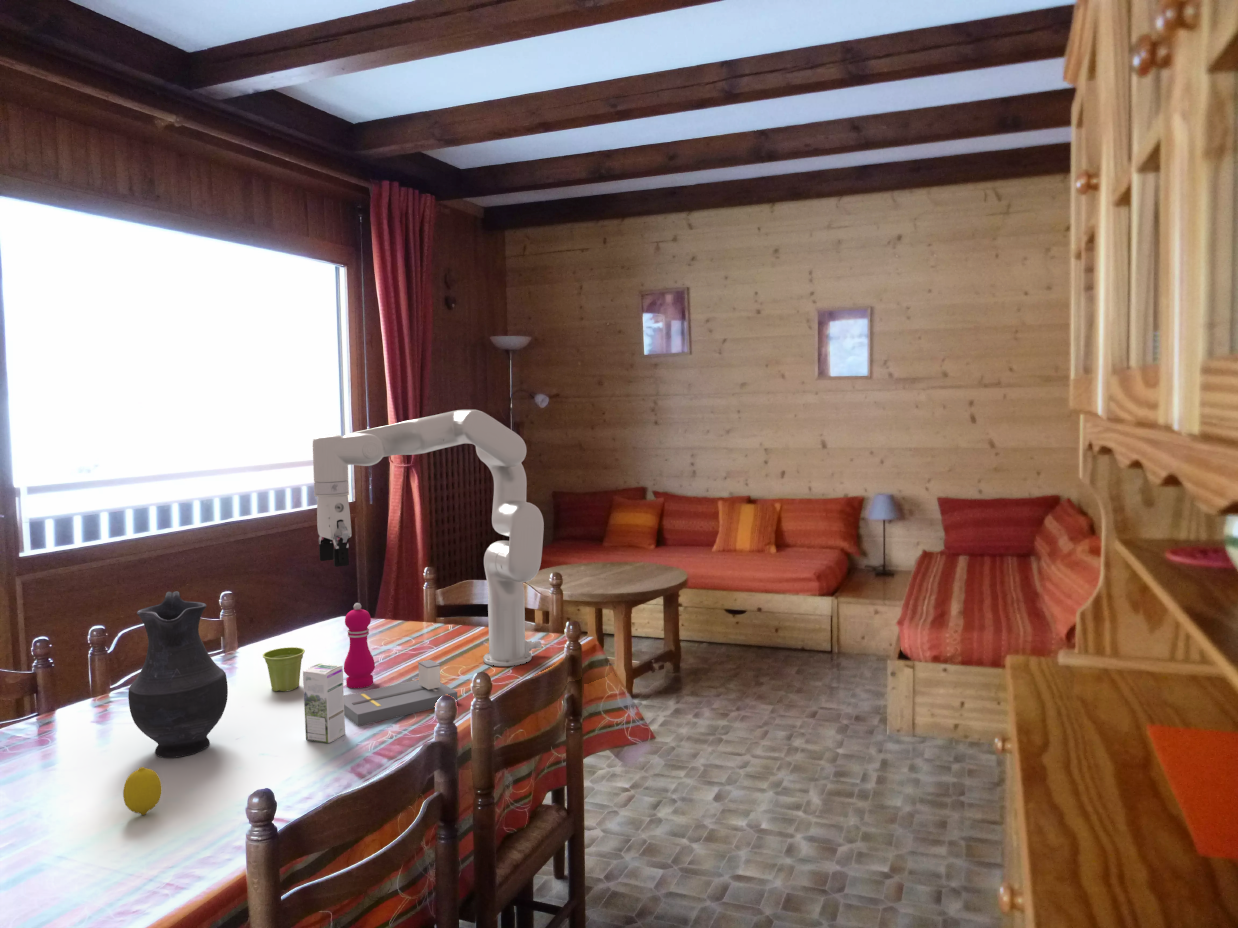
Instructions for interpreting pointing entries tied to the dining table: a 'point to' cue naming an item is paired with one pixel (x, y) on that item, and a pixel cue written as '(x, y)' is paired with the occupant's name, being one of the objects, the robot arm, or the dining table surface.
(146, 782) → the lemon
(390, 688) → the console
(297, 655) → the plant pot
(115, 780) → the dining table surface
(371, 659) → the pepper mill
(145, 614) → the pitcher
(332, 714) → the syrup box
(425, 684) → the block
